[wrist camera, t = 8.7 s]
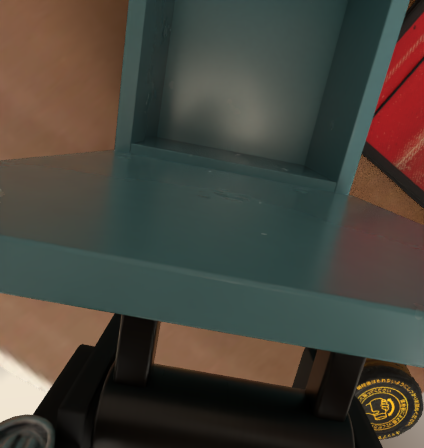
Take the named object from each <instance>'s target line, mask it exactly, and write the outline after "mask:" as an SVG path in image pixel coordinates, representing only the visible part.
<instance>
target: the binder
mask: <svg viewBox="0 0 424 448" xmlns="http://www.w3.org/2000/svg"><path fill="white" fill-rule="evenodd" d="M362 154H363V155H364V156H365V157H366V158H368V159H369V160H370V161H371V162H372V163H373V164H374V165H376V166H377V167H378V168H379V169H380V170H381V171H383V172H384V173H385V174H386V175H387V176H388V177H389V178H390V179H391V180H393V181H394V182H395V183H396V184H397V185H398V186H399V187H400V188H401V189H403V190H404V191H405V192H406V193H407V194H408V195H409V196H410V197H411V198H412V199H414V200H415V201H416V202H417V203H418V204H419V205H420V206H422V207H423V208H424V0H416V1H415V2H414V3H413V5H412V6H411V7H410V8H409V9H408V11H407V12H406V14H405V17H404V20H403V23H402V26H401V30H400V33H399V36H398V39H397V42H396V46H395V49H394V52H393V55H392V58H391V61H390V65H389V68H388V71H387V74H386V77H385V81H384V84H383V87H382V90H381V93H380V97H379V100H378V103H377V106H376V109H375V112H374V116H373V119H372V122H371V125H370V128H369V132H368V135H367V138H366V141H365V144H364V147H363V151H362Z"/></svg>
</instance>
